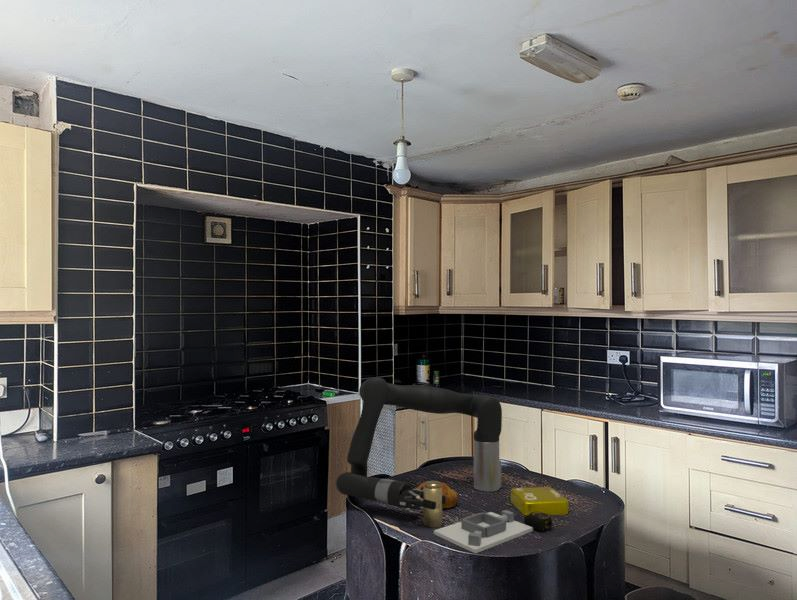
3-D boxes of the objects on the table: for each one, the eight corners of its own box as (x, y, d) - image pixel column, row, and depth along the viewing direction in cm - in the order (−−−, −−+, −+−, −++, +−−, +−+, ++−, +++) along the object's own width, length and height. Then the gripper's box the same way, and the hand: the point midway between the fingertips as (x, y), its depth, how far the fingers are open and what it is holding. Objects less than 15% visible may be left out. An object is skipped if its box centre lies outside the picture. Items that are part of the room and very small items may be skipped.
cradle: (490, 515, 167) (490, 503, 167) (532, 530, 154) (532, 518, 154) (433, 534, 152) (433, 521, 152) (475, 553, 139) (475, 539, 139)
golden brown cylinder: (433, 518, 164) (433, 479, 164) (445, 524, 159) (445, 483, 160) (419, 523, 160) (419, 482, 161) (432, 528, 156) (432, 487, 156)
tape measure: (522, 526, 158) (522, 514, 158) (538, 521, 162) (538, 509, 162) (540, 534, 152) (540, 521, 152) (556, 529, 156) (556, 516, 156)
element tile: (570, 515, 168) (570, 499, 168) (524, 517, 166) (524, 501, 166) (551, 499, 182) (551, 485, 183) (509, 500, 181) (509, 486, 181)
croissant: (454, 519, 169) (457, 494, 169) (405, 508, 172) (409, 484, 172) (458, 502, 183) (462, 479, 183) (414, 493, 187) (417, 470, 187)
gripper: (379, 486, 162) (428, 496, 153) (404, 475, 174) (451, 483, 165) (379, 511, 161) (428, 523, 152) (404, 498, 174) (451, 508, 164)
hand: (440, 502), depth 159 cm, fingers closed on golden brown cylinder, 5 cm apart
